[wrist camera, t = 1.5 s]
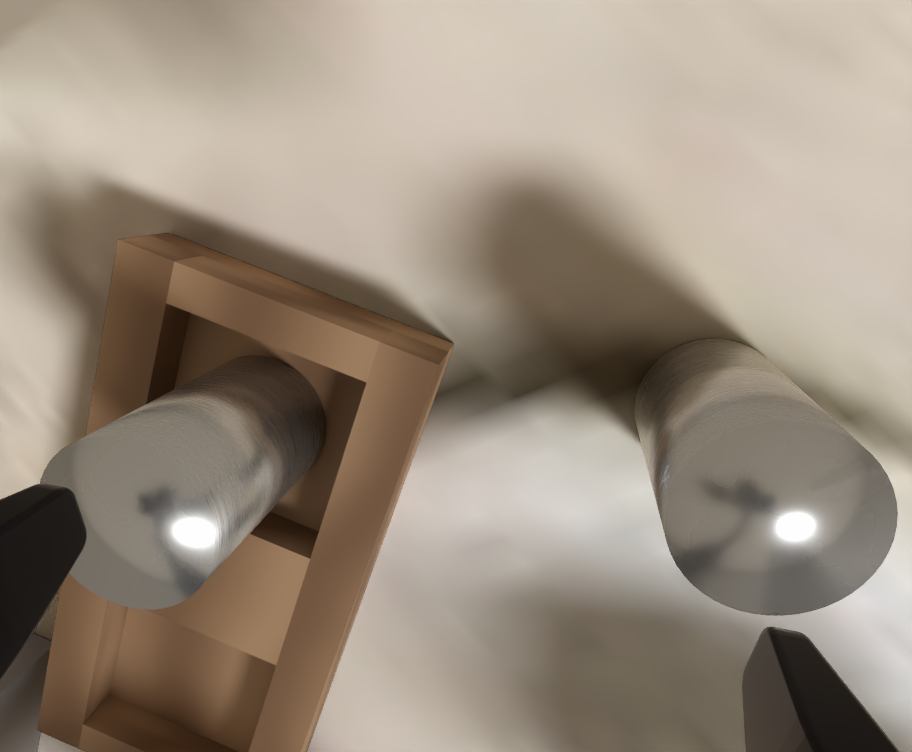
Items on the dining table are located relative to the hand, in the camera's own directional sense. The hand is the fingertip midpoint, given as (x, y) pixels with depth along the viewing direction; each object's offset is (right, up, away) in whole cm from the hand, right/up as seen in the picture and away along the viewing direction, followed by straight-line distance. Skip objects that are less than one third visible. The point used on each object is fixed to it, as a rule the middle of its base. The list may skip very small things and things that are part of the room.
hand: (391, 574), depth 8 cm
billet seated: (-6, +1, +13) cm, 14 cm away
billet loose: (+8, +1, +12) cm, 14 cm away
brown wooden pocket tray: (-7, -4, +16) cm, 18 cm away
